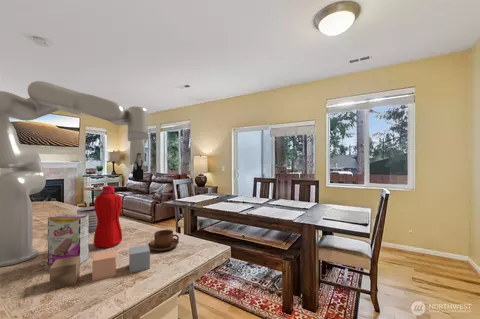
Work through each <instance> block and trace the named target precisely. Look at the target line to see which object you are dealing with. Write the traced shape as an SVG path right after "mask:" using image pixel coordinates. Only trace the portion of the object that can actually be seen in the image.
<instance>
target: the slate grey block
mask: <svg viewBox="0 0 480 319" xmlns="http://www.w3.org/2000/svg"><path fill="white" fill-rule="evenodd" d="M128 253H129V255H128V256H129V260H128V262H129V263H128V264H129V273H130V274H131V273H135V272H136V273H137V272H141V271H144V270H150V268H151V249H150V248H149V246H148V244H145V245H138V246H131V247H129V252H128Z"/></svg>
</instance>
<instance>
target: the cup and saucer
mask: <svg viewBox="0 0 480 319" xmlns="http://www.w3.org/2000/svg"><path fill="white" fill-rule="evenodd" d="M175 237H176V238H175ZM179 238H180V237H179V235H178V234H174V231H173V230H172V229H161V230H157V231H155V232H154V240H152V241H150V242H149V243H148V244H147V245H148V246H149V249H150V250H153V251H156V252H157V251H158V252H160V251H161V252H162V251H168V250H171V249H174V248H176V247H177V246H178V244H179V242H180V241H179Z"/></svg>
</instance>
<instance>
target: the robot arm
mask: <svg viewBox="0 0 480 319" xmlns="http://www.w3.org/2000/svg"><path fill="white" fill-rule="evenodd" d="M27 95H28V96H29V97H27V98H24V97H22V96H20V95H17V94H15V93H12V92H9V91H3V90H0V170H1V169H3V170H10V169H12V171H10V172H5V173H2V174H0V267H5V266H6V267H7V266H12V265H16V264H20V263H24V262H26V261H29V260H31V259H33V258H35V257H37V256H38V254H39V250H38V249H36V248H33V237H34V236H33V235H34V234H33V231H34V229H33V226H34V225H33V217H34V215H33V204H32V203H33V202H32V200H31V199H30V198H31V197H30V196H31V195H35V194H38V193H40V192H41V191H42V190H44V189H45V186H46V182H47V180H46V179H47V178H46V175H45V171H44V167H43V164H42V161H41V157H40V155H39V153H38V151H37V150H36V148H34V147H32V146H31V145H28V144H24V143H20V141H19V137H18V134H17V130H16V128H15V127H14V125H13V123H12V122H11V120H10V118H11V119H16V120H19V121H26V122H27V121H34V120H36V119H40V118H42V117H44V116H47V115H49V114H52V113H54V112H57V111H59V110H61V111H64V112H67V113H71V114H74V115H81V114H82V115H85V116H90V117H94V118H98V119H101V120H105V121H107V122H110V123H112V124H114V126H115V125H116V126H127V141H128V142H130V143H129V164H130V165H131V166H132V179H134V180H133V181H143V180H144V164H145V157H146V156H145V152H146V149H145V146H146V142H148V140H149V134H148V132H149V129H148V128H149V113H148V110H147V108H145V107H142V106H137V105H136V106H135V105H134V106H129V107H128V108H125V107H123V106H122V105H121V104H119V103H117V102H115V101H113V100H110V99H106V98H103V97H100V96H96V95H93V94H88V93H84V92H80V91H76V90H74V89H70V88H67V87H63V86H60V85H57V84H54V83H51V82H46V81H43V80H36V81H33V82H31V83H30V84H29V85H28V86H27Z"/></svg>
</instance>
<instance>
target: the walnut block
mask: <svg viewBox="0 0 480 319" xmlns="http://www.w3.org/2000/svg"><path fill="white" fill-rule="evenodd" d="M80 268H81V264H80V256H76V257H70V258H64V259H58V260H55V261H54V263H53V264H52V265H51V266H50V267H49V290H50V291H51V290H55V289H59V288H64V287H69V286H74V285H77V282H78V280H79V277H80V276H81V274H80V273H81V270H80Z"/></svg>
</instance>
